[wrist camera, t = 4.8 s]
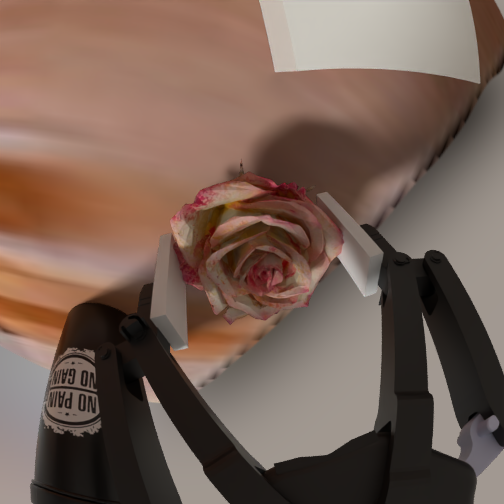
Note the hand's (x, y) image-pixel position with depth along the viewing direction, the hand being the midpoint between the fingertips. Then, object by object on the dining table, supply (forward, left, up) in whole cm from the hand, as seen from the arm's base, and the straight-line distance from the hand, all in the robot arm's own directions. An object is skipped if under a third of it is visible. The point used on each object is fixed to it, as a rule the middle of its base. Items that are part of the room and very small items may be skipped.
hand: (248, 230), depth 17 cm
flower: (0, 0, -3) cm, 3 cm away
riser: (+12, +17, -3) cm, 21 cm away
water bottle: (-17, -9, -3) cm, 20 cm away
